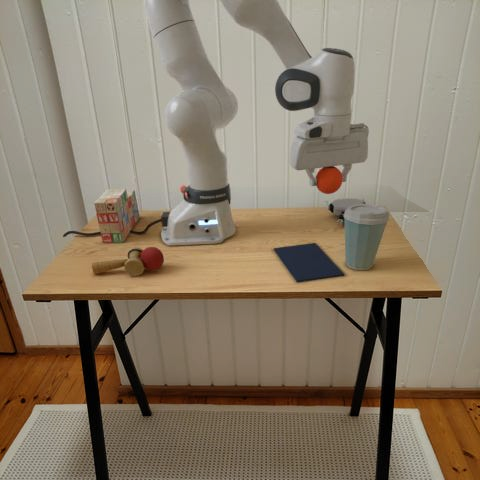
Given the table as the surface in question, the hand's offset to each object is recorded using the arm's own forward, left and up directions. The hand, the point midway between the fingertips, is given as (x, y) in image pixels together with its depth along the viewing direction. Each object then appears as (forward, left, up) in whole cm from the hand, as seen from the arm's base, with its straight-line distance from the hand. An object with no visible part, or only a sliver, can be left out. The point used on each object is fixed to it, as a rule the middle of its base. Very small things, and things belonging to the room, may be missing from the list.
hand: (327, 183), depth 117 cm
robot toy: (+15, +16, -17) cm, 27 cm away
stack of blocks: (-55, +30, -17) cm, 65 cm away
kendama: (-53, -1, -17) cm, 56 cm away
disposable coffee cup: (+4, -15, -17) cm, 23 cm away
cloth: (-8, -9, -17) cm, 21 cm away
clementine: (0, 0, -3) cm, 3 cm away
